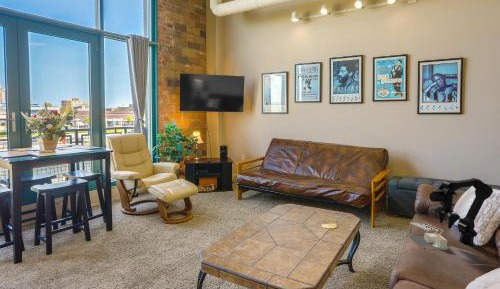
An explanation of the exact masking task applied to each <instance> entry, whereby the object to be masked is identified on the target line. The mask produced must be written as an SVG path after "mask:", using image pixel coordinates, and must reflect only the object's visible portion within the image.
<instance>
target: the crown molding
mask: <svg viewBox="0 0 500 289" xmlns="http://www.w3.org/2000/svg"><path fill="white" fill-rule="evenodd" d="M409 224H411V225H412V226H415V227H418V228H419V229H422V230H424V231H426V232H425V233H429V231H434V232H433V233H434V234H438V233H439V232H440V233H439V234H440V235H441V234H442V233H443V232H444V229H441V228H439V227H436V226H434V225H432V224H429V223H427V224H428V225H430V226H433V227H435V228H438V229H440V230H442V231H439V230H438V229H435V228H433V227H430V226H428V225H425V224H426V223H418V222H409ZM421 224H422V225H421ZM426 226H428V227H430V228H428V227H427V228H426ZM431 228H432V230H431ZM433 229H434V230H433Z"/></svg>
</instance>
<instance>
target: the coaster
mask: <svg viewBox="0 0 500 289" xmlns="http://www.w3.org/2000/svg"><path fill="white" fill-rule="evenodd" d="M432 246H433V247H434V248H436V249H439V250H438V251H449V250H448V249H449V248H450V247H449V246H448V245H447V248H439V247H438V246H437V245H435V244H434V243H433V245H432Z"/></svg>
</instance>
